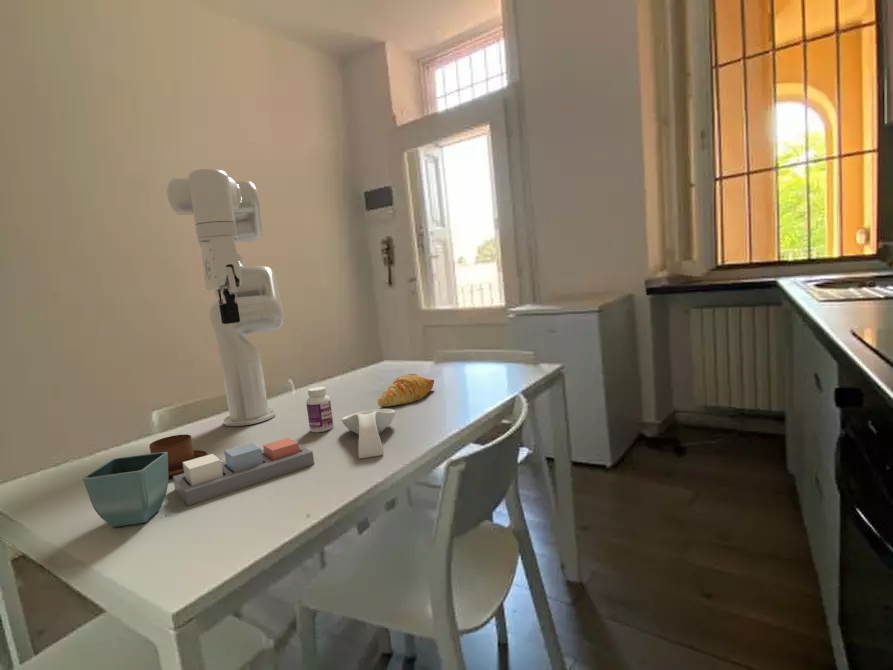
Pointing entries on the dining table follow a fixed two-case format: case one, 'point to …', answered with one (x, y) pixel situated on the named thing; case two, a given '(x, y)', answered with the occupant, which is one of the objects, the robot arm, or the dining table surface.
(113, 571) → the dining table surface
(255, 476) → the grey flat tray
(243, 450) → the key blue
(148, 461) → the flower pot
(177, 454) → the cup and saucer
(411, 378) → the croissant
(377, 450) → the spoon rest
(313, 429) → the pill bottle
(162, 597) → the dining table surface
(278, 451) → the key red
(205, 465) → the key white
